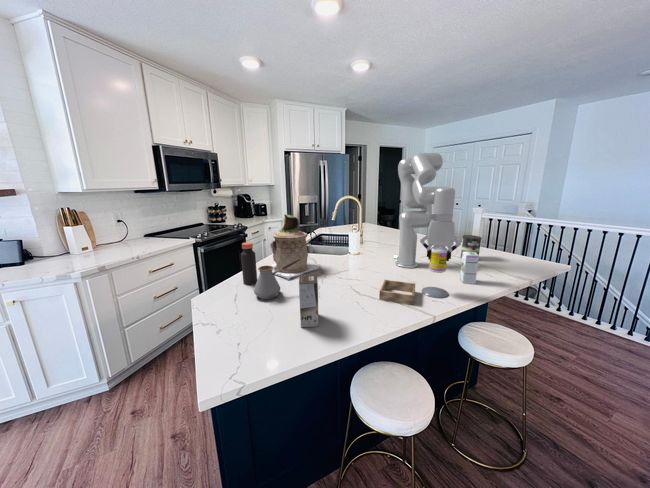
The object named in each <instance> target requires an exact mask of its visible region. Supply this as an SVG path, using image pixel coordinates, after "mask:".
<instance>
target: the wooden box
mask: <svg viewBox="0 0 650 488" xmlns="http://www.w3.org/2000/svg"><path fill="white" fill-rule="evenodd" d="M382 283H383V284H382V285H381V288H380V289H379V297H378V300H379V301H386V302H391V303H395V304H396V303H398V304H403V305H404V304H405V305H409V306H413V305H414V301H415V300H414V299H415V295H416V294H415V293H416V283H414V282H405V281H398V280H392V279H390V280H389V279H384V281H383V282H382ZM387 289H389V290H394V291H395V290H396V291H401V292H408V293H409V292H410V293H411V294H407V293H401V292H394V291H389V290H388V291H387Z"/></svg>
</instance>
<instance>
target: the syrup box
mask: <svg viewBox="0 0 650 488" xmlns="http://www.w3.org/2000/svg"><path fill="white" fill-rule="evenodd" d="M479 257H480V254H479V255H478V254H476V253H475V252H463V254H462V259H461V265H460V274H459V280H460V281H461V282H462V284H469V285H472V284H473V285H476V281H477V274H478V266H479Z"/></svg>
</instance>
